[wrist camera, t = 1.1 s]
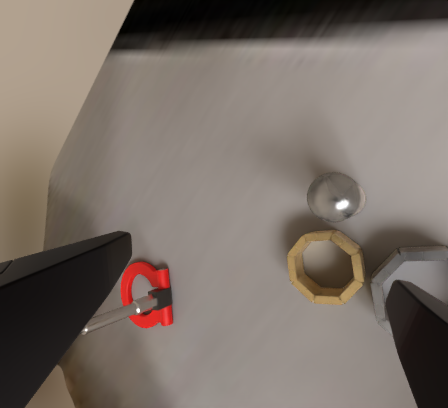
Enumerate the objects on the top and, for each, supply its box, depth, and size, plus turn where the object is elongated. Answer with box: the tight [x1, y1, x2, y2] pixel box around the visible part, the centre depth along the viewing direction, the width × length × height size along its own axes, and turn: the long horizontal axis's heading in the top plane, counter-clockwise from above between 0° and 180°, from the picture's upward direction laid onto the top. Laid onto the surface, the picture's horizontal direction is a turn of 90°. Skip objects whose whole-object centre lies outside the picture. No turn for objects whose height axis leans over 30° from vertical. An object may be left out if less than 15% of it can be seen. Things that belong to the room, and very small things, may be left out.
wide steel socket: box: [370, 246, 448, 336], centre depth 18 cm, size 7×7×2 cm
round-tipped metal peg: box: [307, 172, 366, 222], centre depth 19 cm, size 3×3×7 cm
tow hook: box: [80, 262, 173, 335], centre depth 30 cm, size 8×13×9 cm
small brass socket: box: [287, 230, 366, 305], centre depth 22 cm, size 6×6×2 cm
